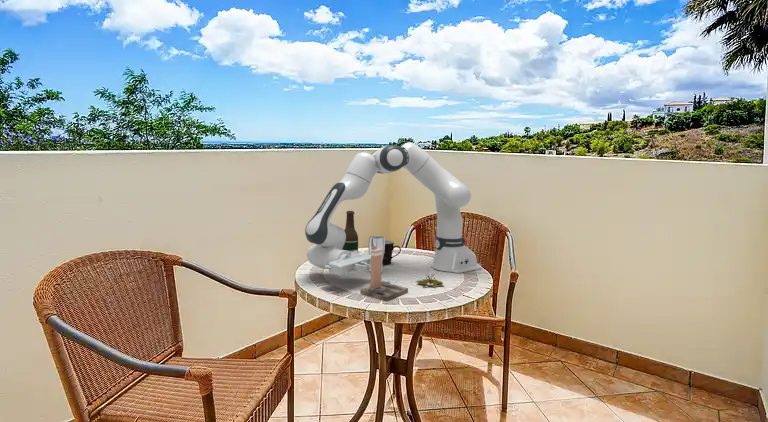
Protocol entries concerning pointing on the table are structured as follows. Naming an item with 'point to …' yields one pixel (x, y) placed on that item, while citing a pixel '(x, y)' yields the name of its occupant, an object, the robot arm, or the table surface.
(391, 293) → the walnut control box
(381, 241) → the beer glass
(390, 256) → the coffee mug
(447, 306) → the table surface
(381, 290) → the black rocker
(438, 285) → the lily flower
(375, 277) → the terracotta paddle
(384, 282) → the grey fader knob
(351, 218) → the beer bottle
